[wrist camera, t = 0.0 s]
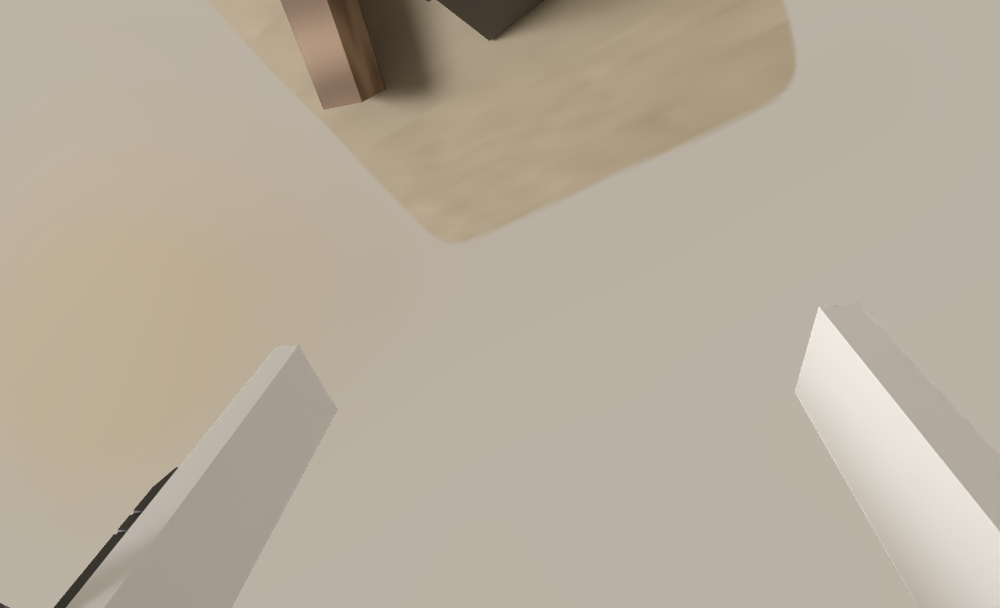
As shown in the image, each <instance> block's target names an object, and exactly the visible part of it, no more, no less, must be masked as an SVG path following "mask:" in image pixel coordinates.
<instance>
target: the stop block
mask: <svg viewBox="0 0 1000 608" xmlns="http://www.w3.org/2000/svg"><path fill="white" fill-rule="evenodd" d="M281 2H282V5H283V7H284V10H285V12H286V15H287V18H288V20H289V23H290V25H291V28H292V30H293V33H294V35H295V38H296V41H297V43H298V46H299V48H300V51H301V53H302V56H303V58H304V61H305V63H306V66H307V69H308V71H309V74H310V76H311V79H312V81H313V84H314V86H315V89H316V91H317V94H318V97H319V99H320V102H321V104H322V107H323V109H329V108H334V107H339V106H345V105H350V104H355V103H360V102H363V101H365V100H366V99H368V98H370V97H372V96H374V95H375V94H377V93H379V92H381V91H382V90H384V89H385V85H384V82H383V79H382V76H381V73H380V69H379V66H378V63H377V60H376V56H375V53H374V50H373V47H372V43H371V40H370V37H369V34H368V30H367V27H366V24H365V21H364V17H363V14H362V11H361V8H360V4H359V1H358V0H281Z"/></svg>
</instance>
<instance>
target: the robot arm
mask: <svg viewBox="0 0 1000 608" xmlns="http://www.w3.org/2000/svg"><path fill="white" fill-rule="evenodd" d="M795 394H796V395H797V397H798V399H799V401H800V402H801V404H802V406H803V408H804V409H805V411H806V413H807V415H808V416H809V418H810V420H811V421H812V423H813V425H814V427H815V429H816V430H817V432H818V434H819V436H820V437H821V439H822V441H823V443H824V444H825V446H826V448H827V450H828V451H829V453H830V455H831V456H832V458H833V460H834V462H835V464H836V465H837V467H838V469H839V471H840V472H841V474H842V476H843V478H844V479H845V481H846V483H847V485H848V486H849V488H850V489H851V491H852V493H853V495H854V497H855V498H856V500H857V502H858V504H859V506H860V507H861V509H862V511H863V513H864V514H865V516H866V518H867V519H868V521H869V523H870V525H871V527H872V528H873V530H874V532H875V533H876V535H877V537H878V539H879V541H880V542H881V544H882V546H883V547H884V549H885V551H886V553H887V554H888V556H889V558H890V560H891V561H892V563H893V565H894V567H895V568H896V570H897V572H898V574H899V575H900V577H901V579H902V580H903V582H904V584H905V586H906V588H907V589H908V591H909V593H910V595H911V596H912V598H913V600H914V602H915V603H916V605H917V607H918V608H1000V454H999V453H998V452H997V451H996V450H995V449H994V448H993V447H992V446H991V445H990V444H989V443H988V441H987V440H986V439H985V438H984V437H983V436H982V435H981V434H980V433H979V432H978V431H977V430H976V429H975V428H974V426H973V425H972V424H971V423H970V422H969V421H968V420H967V419H966V418H965V417H964V416H963V415H962V414H961V413H960V412H959V411H958V409H956V407H955V406H954V405H953V404H952V403H951V402H950V401H949V400H948V399H947V398H946V396H945V395H943V393H942V392H941V391H940V390H939V389H938V388H937V387H936V386H935V385H934V384H933V383H932V382H931V380H929V378H928V377H927V376H926V375H925V374H924V373H923V372H922V371H921V370H920V369H919V368H918V367H917V366H916V364H915V363H914V362H913V361H912V360H911V359H910V358H909V357H908V356H907V355H906V354H905V353H904V352H903V351H902V349H901V348H900V347H899V346H898V345H897V344H896V343H895V342H894V341H893V340H892V339H891V338H890V337H889V336H888V335H887V333H886V332H885V331H884V330H883V329H882V328H881V327H880V326H879V325H878V324H877V323H876V322H875V321H874V320H873V319H872V317H871V316H869V314H868V313H867V312H866V311H865V310H864V309H863V308H862V307H861V306H860V305H859V304H844V305H831V306H819V308H818V311H817V315H816V319H815V322H814V326H813V329H812V333H811V336H810V340H809V343H808V347H807V351H806V354H805V357H804V361H803V364H802V368H801V371H800V375H799V378H798V382H797V385H796V389H795ZM336 411H337V408H336V406H335V405H334V403H333V401H332V400H331V398H330V396H329V395H328V393H327V392H326V390H325V388H324V386H323V385H322V383H321V381H320V380H319V378H318V376H317V375H316V373H315V371H314V370H313V368H312V366H311V365H310V363H309V361H308V360H307V358H306V356H305V354H304V353H303V351H302V349H301V348H300V346H299V345H290V346H277V347H275V348H274V349H273V350H272V352H271V353H270V354H269V355H268V356H267V358H266V359H265V360H264V361H263V363H262V364H261V365H260V366H259V368H258V369H257V370H256V371H255V373H254V374H253V375H252V376H251V378H250V379H249V380H248V381H247V383H246V384H245V385H244V386H243V388H242V389H241V390H240V391H239V393H238V394H237V395H236V396H235V398H234V399H233V400H232V401H231V403H230V404H229V405H228V406H227V408H226V409H225V410H224V411H223V412H222V414H221V415H220V416H219V418H218V419H217V420H216V421H215V423H214V424H213V425H212V426H211V427H210V429H209V430H208V431H207V432H206V434H205V435H204V436H203V437H202V439H201V440H200V441H199V442H198V444H197V445H196V446H195V448H194V449H193V450H192V451H191V452H190V454H189V455H188V456H187V457H186V459H185V460H184V461H183V462H182V464H181V465H180V466H179V467H178V468H175V469H174V470H172V471H171V472H170V473H169V474H168V475H167V476H165V477H164V478H163V479H162V480H161V481H160V482H158V483H157V484H156V485H155V486H154V487H152V489H151V490H150V491H149V492H148V494H147V495H146V496H145V497H144V499H143V500H142V501H141V502H140V503H139V505H138V506H137V507H136V508H135V509H134V514H133V515H130V516H129V517H128V518H127V519H126V521H125V522H124V523H123V524H122V525H121V526H120V528H119V529H118V530H119V531H118V533H117V534H116V535H115V534H114V535H113V536H112V538H111V539H110V540H109V541H108V542H107V543H106V545H105V546H104V547H103V548H102V550H101V551H100V552H99V553H98V555H97V556H96V557H95V558H94V559H93V560H92V562H91V563H90V564H89V565H88V567H87V568H86V569H85V570H84V571H83V573H82V574H81V575H80V576H79V578H78V579H77V580H76V581H75V582H74V584H73V585H72V586H71V587H70V588H69V590H68V591H67V592H66V593H65V595H64V596H63V597H62V598H61V599H60V601H59V602H58V603H57V605H56V606H55V607H54V608H232V606H233V604H234V602H235V600H236V598H237V597H238V595H239V593H240V591H241V589H242V587H243V585H244V584H245V582H246V580H247V578H248V576H249V574H250V572H251V570H252V568H253V566H254V565H255V563H256V561H257V559H258V557H259V555H260V553H261V552H262V549H263V548H264V546H265V544H266V542H267V540H268V539H269V537H270V535H271V533H272V531H273V529H274V527H275V525H276V524H277V522H278V520H279V518H280V516H281V514H282V512H283V511H284V509H285V507H286V505H287V503H288V501H289V499H290V497H291V496H292V494H293V492H294V490H295V488H296V486H297V484H298V483H299V481H300V479H301V477H302V475H303V473H304V471H305V469H306V468H307V466H308V464H309V462H310V460H311V458H312V456H313V455H314V453H315V451H316V449H317V447H318V445H319V443H320V441H321V439H322V438H323V436H324V434H325V432H326V430H327V428H328V426H329V425H330V423H331V421H332V419H333V417H334V415H335V413H336ZM0 608H9V607H7V606H5V605H3V604H1V603H0Z"/></svg>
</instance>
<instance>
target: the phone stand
mask: <svg viewBox="0 0 1000 608" xmlns="http://www.w3.org/2000/svg"><path fill="white" fill-rule="evenodd" d="M427 1H429V2H430V1H431V0H427ZM437 1H439V2H440V3H441V4H443V5H444V6H445V7H447V8H448V9H449V10H450V11H452V12H453V13H454V14H456V15H457V16H458V17H459V18H461V19H462V20H463V21H465V22H466V23H467V24H469V25H470V26H471V27H472V28H474V29H475V30H476V31H478V32H479V33H480V34H481V35H483V36H484V37H485V38H487V39H488V40H489V41H490V40H491V39H493V38H494V37H495V36H497V35H498V34H499V33H501V32H502V31H503V30H505V29H506V28H507V27H509V26H510V25H511V24H513V23H514V22H515V21H517V20H518V19H519V18H521V17H522V16H523V15H525V14H526V13H527V12H529V11H530V10H531V9H533V8H534V7H535V6H537V5H538V4H539V3H541V2H542V1H543V0H437Z"/></svg>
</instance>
